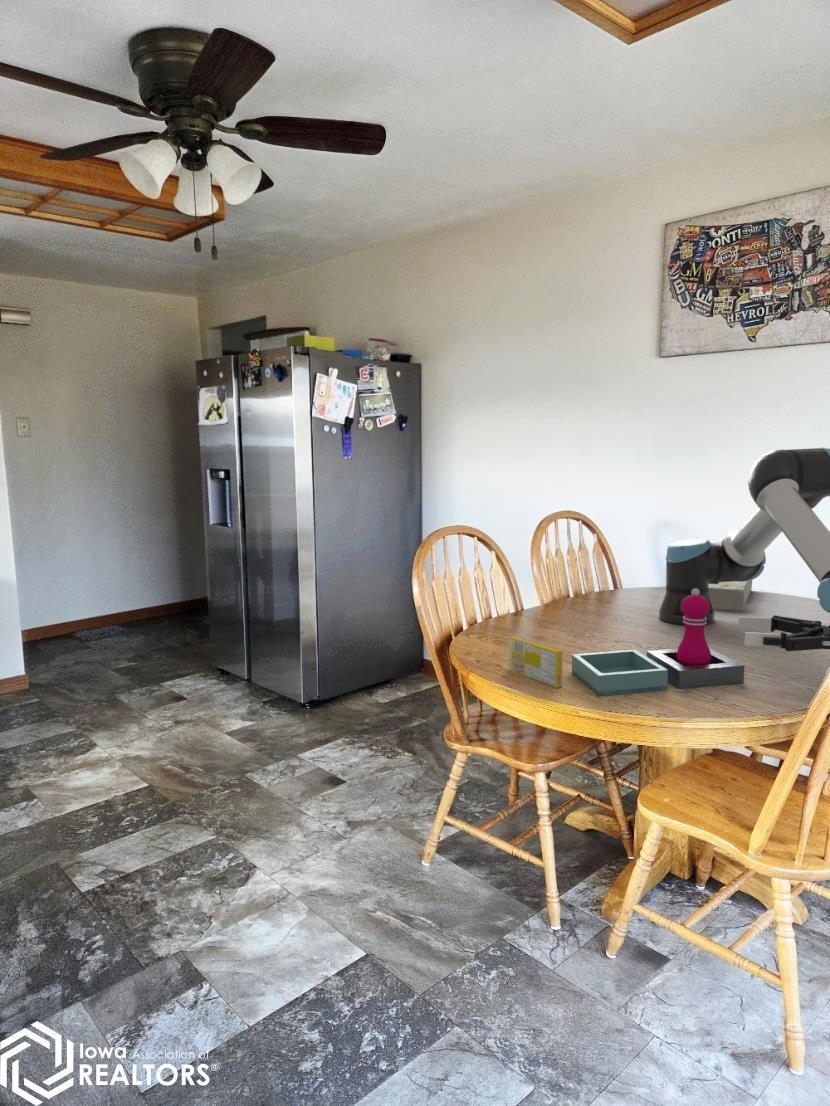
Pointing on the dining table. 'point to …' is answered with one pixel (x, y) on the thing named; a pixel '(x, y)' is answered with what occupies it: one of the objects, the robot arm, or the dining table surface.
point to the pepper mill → (694, 631)
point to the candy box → (535, 661)
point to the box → (729, 594)
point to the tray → (619, 672)
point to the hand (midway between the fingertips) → (741, 630)
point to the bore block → (699, 670)
